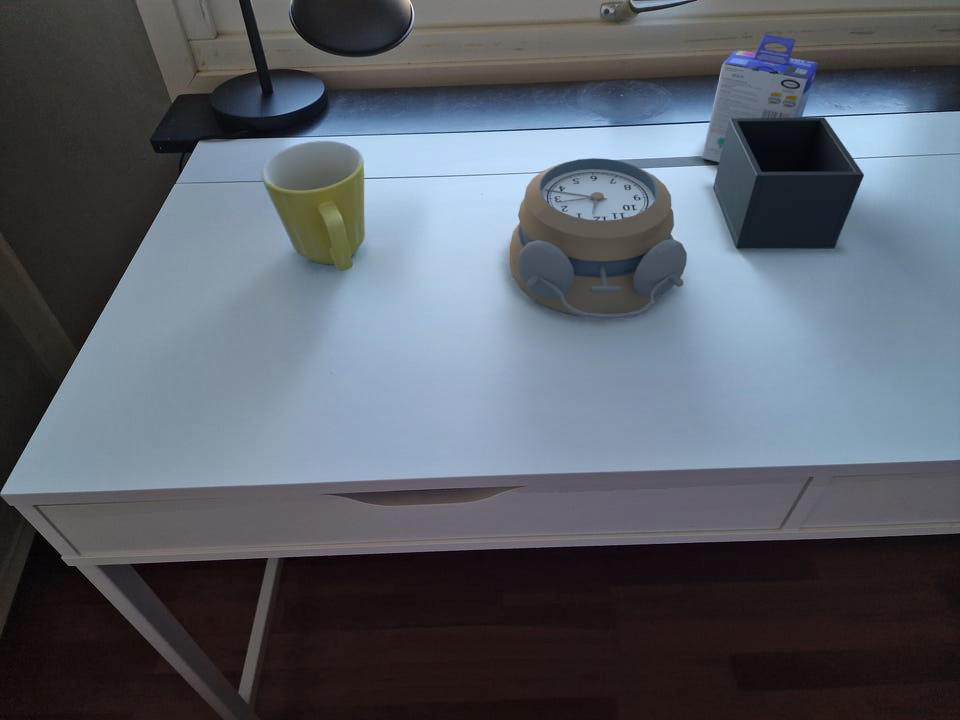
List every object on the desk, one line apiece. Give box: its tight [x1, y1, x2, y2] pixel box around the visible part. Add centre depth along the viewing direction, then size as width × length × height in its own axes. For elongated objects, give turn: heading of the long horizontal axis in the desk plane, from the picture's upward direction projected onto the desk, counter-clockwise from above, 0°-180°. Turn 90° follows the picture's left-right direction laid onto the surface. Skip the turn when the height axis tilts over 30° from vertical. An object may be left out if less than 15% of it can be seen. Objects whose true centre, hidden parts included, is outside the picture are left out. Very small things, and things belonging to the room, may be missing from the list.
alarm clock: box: [509, 157, 688, 320], centre depth 68 cm, size 17×9×23 cm
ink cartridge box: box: [701, 33, 819, 163], centre depth 82 cm, size 10×6×14 cm, turn 58°
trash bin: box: [712, 116, 865, 249], centre depth 75 cm, size 10×12×9 cm
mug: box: [260, 140, 366, 272], centre depth 71 cm, size 14×10×10 cm
